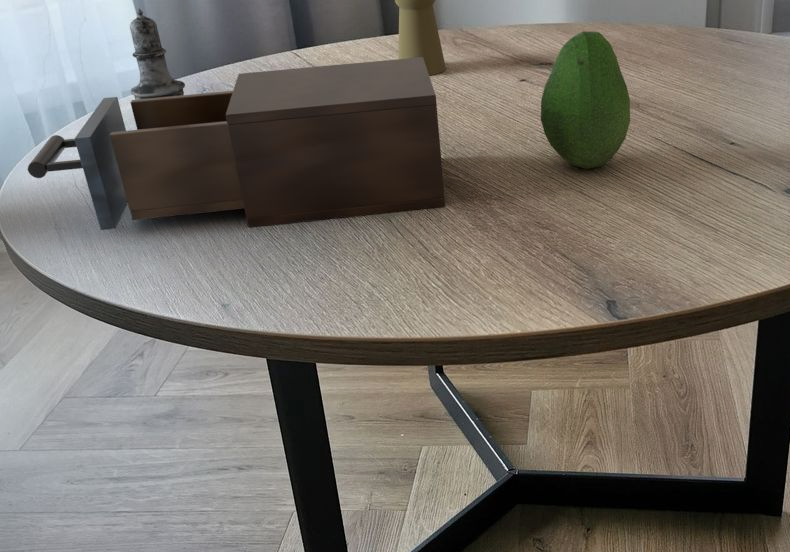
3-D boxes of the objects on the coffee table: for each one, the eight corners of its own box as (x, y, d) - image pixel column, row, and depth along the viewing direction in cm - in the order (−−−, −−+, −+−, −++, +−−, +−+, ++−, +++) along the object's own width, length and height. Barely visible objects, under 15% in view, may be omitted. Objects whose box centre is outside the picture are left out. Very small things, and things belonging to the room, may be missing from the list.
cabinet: (248, 227, 80) (225, 114, 75) (257, 175, 91) (238, 73, 86) (445, 206, 82) (435, 94, 77) (432, 157, 92) (422, 56, 88)
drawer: (38, 236, 78) (8, 144, 74) (70, 187, 88) (45, 103, 84) (290, 210, 80) (274, 119, 76) (294, 164, 90) (280, 81, 86)
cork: (436, 77, 117) (428, -18, 112) (390, 75, 119) (380, -18, 113) (452, 64, 122) (445, -28, 116) (408, 63, 124) (399, -27, 118)
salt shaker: (190, 108, 111) (167, 0, 105) (193, 122, 106) (168, 10, 100) (138, 115, 110) (110, 6, 104) (137, 130, 105) (109, 17, 99)
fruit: (547, 183, 85) (542, 46, 79) (538, 154, 92) (533, 25, 86) (636, 177, 85) (639, 39, 79) (621, 147, 92) (623, 18, 86)
